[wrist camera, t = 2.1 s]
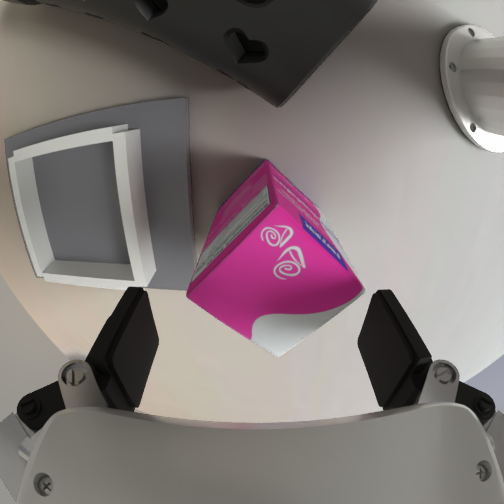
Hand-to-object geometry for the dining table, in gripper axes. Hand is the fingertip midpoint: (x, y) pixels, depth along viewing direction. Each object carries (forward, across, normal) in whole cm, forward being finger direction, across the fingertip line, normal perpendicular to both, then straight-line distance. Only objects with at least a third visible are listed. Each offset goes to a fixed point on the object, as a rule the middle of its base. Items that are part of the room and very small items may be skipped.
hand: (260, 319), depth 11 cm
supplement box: (+12, -1, -1) cm, 12 cm away
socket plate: (+12, +15, -1) cm, 20 cm away
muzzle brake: (+12, +8, -20) cm, 25 cm away
